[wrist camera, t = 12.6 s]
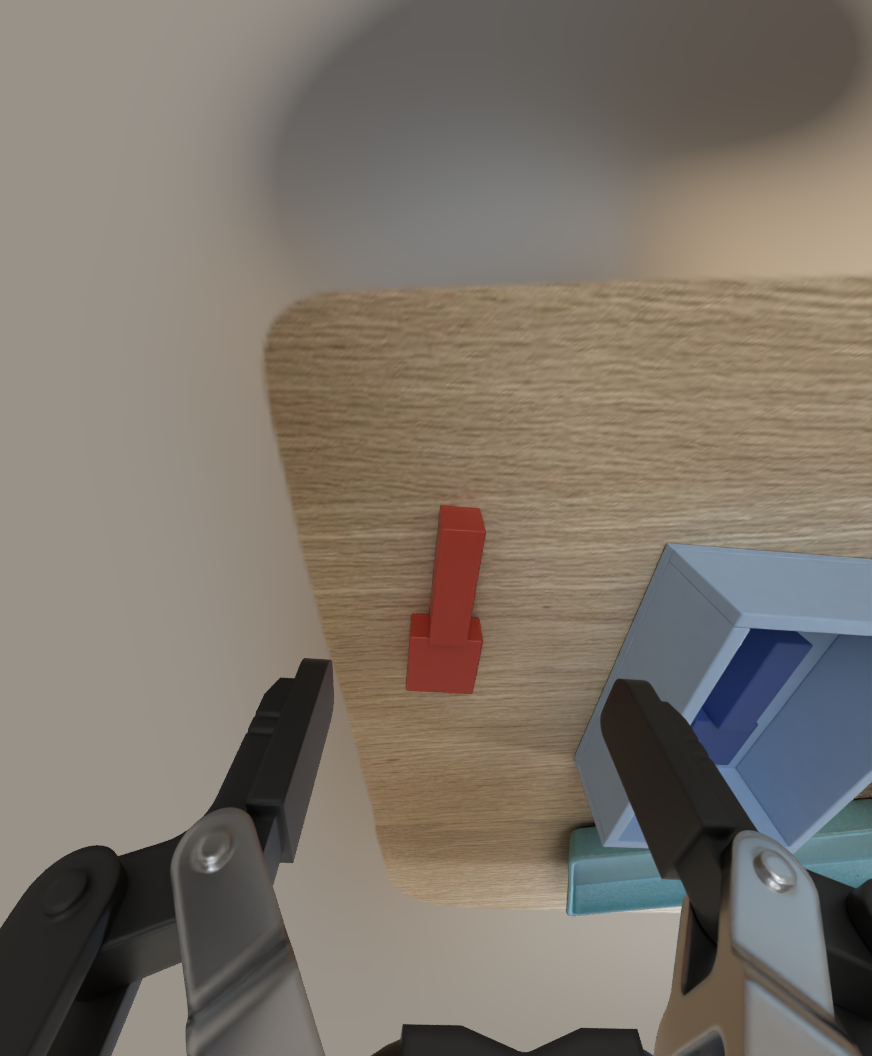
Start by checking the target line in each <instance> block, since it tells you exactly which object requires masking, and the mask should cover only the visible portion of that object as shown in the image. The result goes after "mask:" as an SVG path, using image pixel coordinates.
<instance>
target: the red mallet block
mask: <svg viewBox="0 0 872 1056" xmlns="http://www.w3.org/2000/svg"><path fill="white" fill-rule="evenodd" d="M485 535H486V531H485V527H484V523H483V519H482V515H481V512H480V509H478V508H466V507H453V506H440V514H439V523H438V533H437V542H436V551H435V561H434V570H433V579H432V589H431V598H430V607H429V615H427V614H412V615H411V627H410V640H409V652H408V665H407V679H406V690H408V691H426V692H444V693H462V694H472V693H473V690H474V685H475V680H476V675H477V670H478V665H479V660H480V655H481V650H482V645H483V638H482V632H481V626H480V620H479V618H473V617H471V615H472V609H473V604H474V598H475V592H476V587H477V581H478V575H479V569H480V564H481V558H482V552H483V546H484V541H485Z"/></svg>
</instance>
